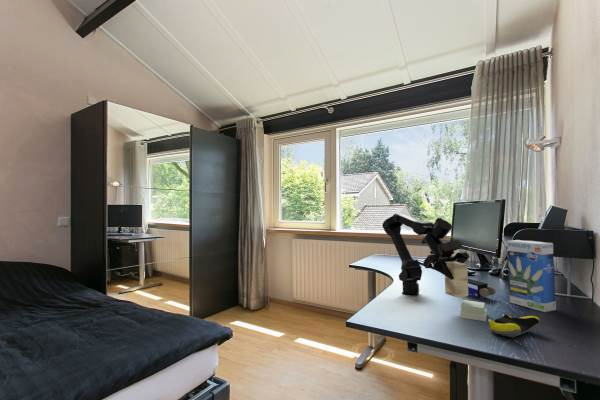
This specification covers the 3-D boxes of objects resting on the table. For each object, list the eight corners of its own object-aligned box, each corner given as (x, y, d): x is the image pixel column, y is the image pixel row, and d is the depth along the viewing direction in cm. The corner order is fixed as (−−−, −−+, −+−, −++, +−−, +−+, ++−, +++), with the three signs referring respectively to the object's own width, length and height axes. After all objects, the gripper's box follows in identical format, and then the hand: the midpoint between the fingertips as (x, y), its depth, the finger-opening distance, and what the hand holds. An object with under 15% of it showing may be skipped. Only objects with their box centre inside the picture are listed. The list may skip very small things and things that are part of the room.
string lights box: (509, 302, 122) (505, 240, 123) (521, 300, 124) (517, 239, 125) (545, 312, 109) (541, 243, 110) (557, 309, 112) (553, 242, 113)
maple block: (445, 293, 114) (444, 262, 114) (456, 292, 116) (455, 261, 116) (456, 297, 109) (455, 265, 109) (468, 296, 110) (467, 264, 111)
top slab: (461, 311, 107) (460, 304, 107) (463, 306, 113) (463, 299, 113) (483, 315, 103) (483, 308, 103) (485, 309, 109) (484, 302, 109)
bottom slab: (460, 319, 107) (460, 312, 107) (462, 312, 113) (462, 305, 114) (486, 323, 102) (486, 315, 103) (486, 316, 109) (486, 309, 109)
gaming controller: (543, 334, 91) (508, 324, 100) (542, 316, 91) (507, 307, 100) (517, 346, 84) (482, 333, 93) (516, 326, 84) (481, 316, 93)
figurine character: (496, 303, 126) (463, 291, 140) (497, 285, 125) (464, 275, 139) (486, 305, 123) (453, 293, 137) (487, 288, 123) (454, 277, 136)
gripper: (427, 234, 114) (450, 268, 103) (464, 232, 119) (490, 264, 109) (414, 251, 121) (434, 285, 110) (450, 248, 127) (473, 280, 116)
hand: (458, 278), depth 111 cm, fingers closed on maple block, 5 cm apart
